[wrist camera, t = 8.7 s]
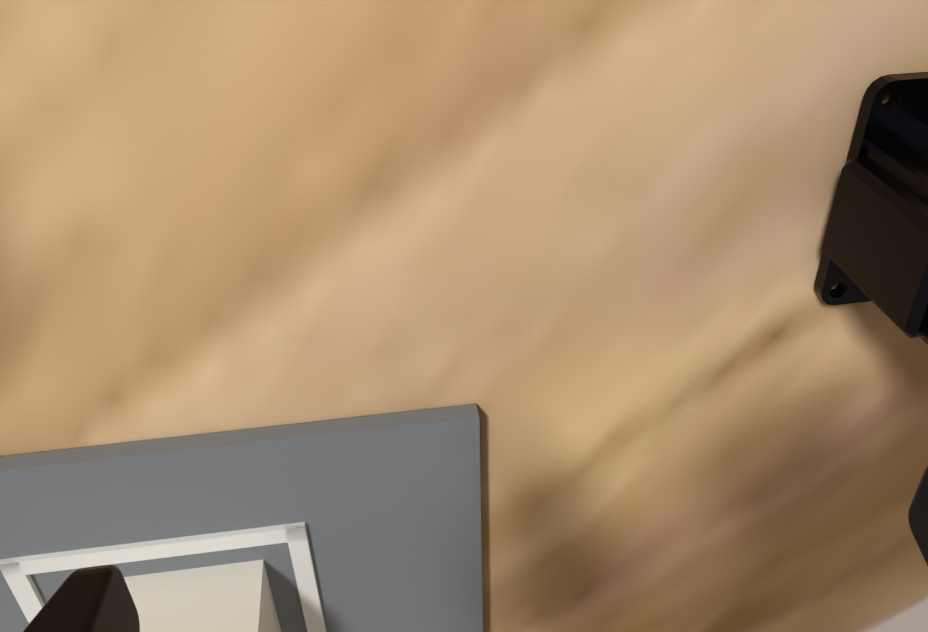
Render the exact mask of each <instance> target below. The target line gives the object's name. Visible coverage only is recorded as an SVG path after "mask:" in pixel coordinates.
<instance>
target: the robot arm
mask: <svg viewBox="0 0 928 632" xmlns="http://www.w3.org/2000/svg"><path fill="white" fill-rule="evenodd" d="M890 91H893V95H892V96H891V98H890V100H889V101H887V102H886V103H885V104H882V100H883V98H884V96H885V95H886V94H888V93H889V92H890ZM822 249H823V255H822V258H821V262H820V266H819V270H818V274H817V278H816V281H815V292H816V293H817V295H818V296H819V297H820V298H821V299H822V300H823V302H825V303H827V304H829V305H838V304H848V303H858V302H867V301H873V302H874V303H875V304H876V305H877V306H878V307H879V308H880V309H881V310H882V311H883V312H884V313H885V314H886V315H887V316H888V317H889V318H890V319H891V320H892V321H893V322H894V323H895V324H896V326H897V327H898V328H899V329H900V330H901V331H902V332H903V333H904V334H905V335H906V336H908V337H910V338H915V337H921V338H922V339H923V340H924V341H925V342H926V343H927V344H928V72H919V73H906V74H892V75H886V76H882V77H880V78H878V79H877V80H875V81H873V82H872V84H871V85H870V86H869V87H868V88H867V90H866V93H865V95H864V98H863V101H862V105H861V109H860V113H859V117H858V121H857V124H856V128H855V132H854V136H853V140H852V144H851V147H850V151H849V155H848V159H847V163H846V164H845V166H844V167H843V169H842V172H841V176H840V180H839V184H838V188H837V192H836V196H835V199H834V203H833V207H832V211H831V215H830V219H829V223H828V226H827V230H826V234H825V238H824V242H823V246H822ZM837 283H839V284H838V286H837V287H836V288H834V289H832V290H831V288H832V287H833V286H834V285H835V284H837ZM908 517H909V524H910V528H911V531H912V533H913V535H914V538H915V540H916V542H917V544H918V546H919V548H920V550H921V553H922V555H923V557H924V559H925V561H926V563H927V565H928V466H927V467H926V469H925V471H924V473H923V476H922V478H921V481H920V483H919V485H918V488H917V490H916V493H915V495H914V498H913V500H912V502H911V505H910V508H909V514H908ZM23 632H140V623H139V616H138V612H137V609H136V606H135V604H134V601H133V599H132V596H131V594H130V591H129V589H128V587H127V584H126V582H125V579H124V577H123V574H122V572H121V571H120V569H119V568H118V567H117V566H115V565H110V564H109V565H101V566H93V567H85V568H80V569H77V570H76V571H74V572H73V573H71V574H70V575H69V576H68V577H67V579H66V580H65V581H64V582H63V583H62V585H61V586H60V587H59V588H58V589H57V591H56V592H55V593H54V594H53V596H52V597H51V598H50V599H49V600H48V602H47V603H46V604H45V605H44V606H43V608H42V609H41V610H40V611H39V612H38V614H37V615H36V616H35V617H34V618H33V620H32V621H31V622H30V623H29V625H28V626H27V627H26V628H25V629H24V631H23Z"/></svg>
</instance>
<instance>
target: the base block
mask: <svg viewBox="0 0 928 632" xmlns="http://www.w3.org/2000/svg"><path fill="white" fill-rule="evenodd" d="M124 579H125V582H126V584H127V587H128V589H129V591H130V594H131V596H132V599H133V601H134V604H135V606H136V609H137V612H138V616H139V623H140V632H281V628H280V624H279V620H278V616H277V612H276V608H275V604H274V600H273V596H272V592H271V588H270V584H269V580H268V576H267V572H266V568H265V564H264V560H256V561H248V562H240V563H232V564H224V565H216V566H208V567H200V568H192V569H184V570H177V571H169V572H161V573H153V574H145V575H137V576H129V577H124Z"/></svg>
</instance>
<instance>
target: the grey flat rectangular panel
mask: <svg viewBox="0 0 928 632" xmlns="http://www.w3.org/2000/svg"><path fill="white" fill-rule="evenodd" d="M256 560H264V564H265V568H266V572H267V576H268V580H269V584H270V588H271V592H272V596H273V600H274V604H275V608H276V612H277V616H278V620H279V624H280V628H281V632H483V596H482V538H481V480H480V422H479V413H478V409H477V405H476V404H470V405H461V406H452V407H443V408H434V409H425V410H416V411H407V412H398V413H389V414H380V415H371V416H362V417H352V418H343V419H334V420H325V421H316V422H307V423H298V424H289V425H280V426H271V427H262V428H253V429H244V430H235V431H226V432H217V433H208V434H198V435H189V436H180V437H171V438H162V439H153V440H144V441H135V442H126V443H117V444H108V445H99V446H90V447H81V448H72V449H63V450H54V451H44V452H35V453H26V454H17V455H8V456H0V632H23V631H24V629H25V628H26V627H27V626H28V625H29V623H30V622H31V621H32V620H33V618H34V617H35V616H36V615H37V614H38V612H39V611H40V610H41V609H42V608H43V606H44V605H45V604H46V603H47V602H48V600H49V599H50V598H51V597H52V596H53V594H54V593H55V592H56V591H57V589H58V588H59V587H60V586H61V585H62V583H63V582H64V581H65V580H66V579H67V577H68V576H69V575H70V574H71V573H73V572H74V571H76V570H77V569H80V568H85V567H93V566H101V565H109V564H110V565H115V566H117V567H118V568H119V569H120V571H121V572H122V574H123V577H129V576H137V575H145V574H153V573H161V572H169V571H177V570H184V569H192V568H200V567H208V566H216V565H224V564H232V563H240V562H248V561H256Z"/></svg>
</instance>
